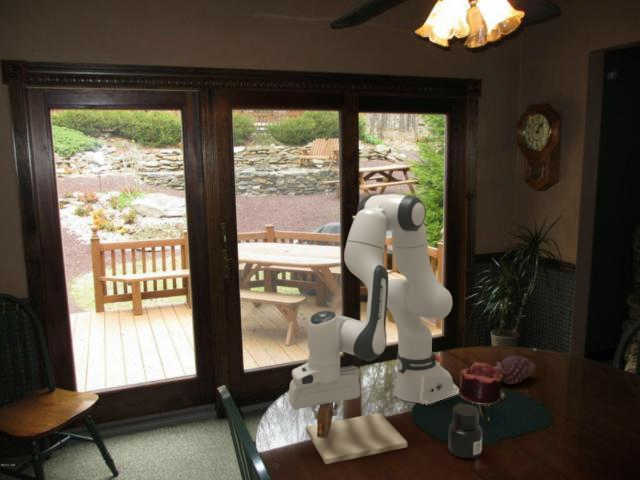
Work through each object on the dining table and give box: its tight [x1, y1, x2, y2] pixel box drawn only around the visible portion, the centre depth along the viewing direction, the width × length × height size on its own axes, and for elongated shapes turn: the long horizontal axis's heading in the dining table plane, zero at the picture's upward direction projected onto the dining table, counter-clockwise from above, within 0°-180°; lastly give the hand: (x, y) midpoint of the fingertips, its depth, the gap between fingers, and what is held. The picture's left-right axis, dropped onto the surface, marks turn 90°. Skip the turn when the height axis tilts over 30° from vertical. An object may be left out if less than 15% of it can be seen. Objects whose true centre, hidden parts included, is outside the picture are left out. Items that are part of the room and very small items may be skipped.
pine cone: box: [491, 355, 536, 385], centre depth 185 cm, size 18×10×10 cm, turn 109°
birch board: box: [305, 412, 408, 465], centre depth 151 cm, size 24×18×2 cm
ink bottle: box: [447, 403, 483, 459], centre depth 143 cm, size 10×9×12 cm
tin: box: [316, 402, 334, 439], centre depth 147 cm, size 15×3×8 cm, turn 171°
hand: (325, 416), depth 147 cm, fingers closed on tin, 4 cm apart
